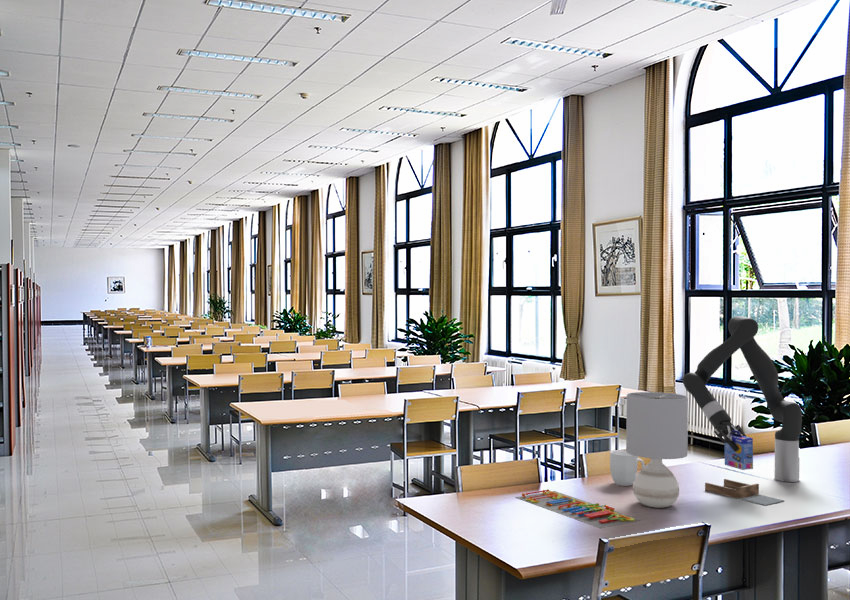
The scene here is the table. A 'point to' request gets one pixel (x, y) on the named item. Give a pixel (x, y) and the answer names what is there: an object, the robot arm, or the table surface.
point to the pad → (762, 500)
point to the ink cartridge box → (740, 452)
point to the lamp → (656, 443)
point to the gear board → (578, 509)
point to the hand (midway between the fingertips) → (742, 449)
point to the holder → (733, 489)
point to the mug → (623, 467)
